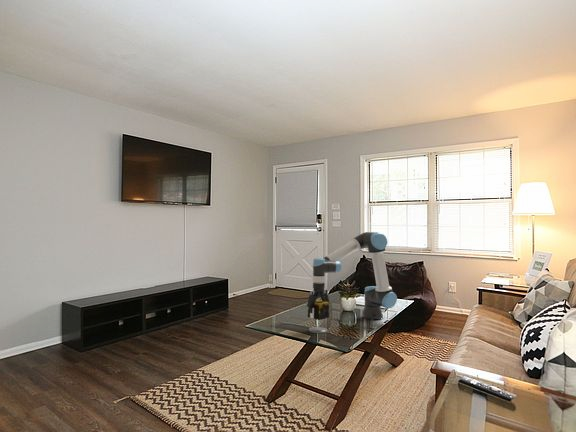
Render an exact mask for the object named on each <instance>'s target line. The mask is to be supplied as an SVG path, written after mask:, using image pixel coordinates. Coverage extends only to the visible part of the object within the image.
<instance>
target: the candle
mask: <svg viewBox="0 0 576 432" xmlns="http://www.w3.org/2000/svg"><path fill="white" fill-rule="evenodd" d="M329 302H330V301H329ZM329 302H324V301H322V299H321V300H320V299H316V302H315V304H314V306H313V308H314V320H317V321H321V320H325V319H328V318H330V304H329ZM307 317H308V318H310V308H309V307H308V309H307Z"/></svg>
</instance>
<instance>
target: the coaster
mask: <svg viewBox="0 0 576 432" xmlns="http://www.w3.org/2000/svg"><path fill="white" fill-rule="evenodd" d="M308 331H309V332H310V333H312V334H325V333H327V332H329V331H328V328H326V327H321V326H314V327H309V328H308Z"/></svg>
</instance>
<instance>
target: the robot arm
mask: <svg viewBox="0 0 576 432" xmlns="http://www.w3.org/2000/svg"><path fill="white" fill-rule="evenodd" d="M387 245H388V239H387V237H386V235H385V234H384V233H381V232H378V231H377V232H376V231H375V232H374V231H372V232H371V231H369V232H368V231H366V232H363V233H361V234H358V235H357V236H355V237H353V238H352V239H351V241H349V242H348V243H346V244H344V245H343V246H341V247H339V248H338V249H336V250H335V251H332V252H331V253H329V254H328V255H326V256H324V257H320V258H319V257H317V258H314V259H313V262H312V288H313V290H312V291H309V296H308V299H307V303H306V306H307V308H308V309H309V308H310V317H309V318H310V319H314V308H313V306H314V304H315V302H316V300H318V298H320V299H321V301H324V302H329V305H330V304H331V303H330V299H329V294H328V289H325V285H326V284H325V282H326V279H325V277H326V276H325V275H326V274H327V273H329V274H330V273H339V272H340V271H342V264H341V261H342V260H343V259H344V258H346V257H348V256H350V255H351V254H353V253H354V252H356V251H359V252H360V250H364V249H367V251H368V253H369V255H370V256H371V260H372V266H373V272H374V277H375V284H376V285H375V286H374V285H372V286H366V287H364V306H363V307H364V308H363V311H362V313H361V315H362V316H361V317H362V318H363V317H364V318H363V319H365V318H366V319H365V320H369V319H381V318H383V319H384V315H383V311H382V308H384V309H393V307H395V305H396V304H397V300H398V297H397V294H396V293H395V292H393V287H392V286H390V282H389V278H388V277H389V276H388V271H387V266H386V265H387V264H386V260H385V252H386V248H387ZM381 307H382V308H381ZM314 320H315V319H314ZM381 320H382V319H381Z"/></svg>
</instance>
